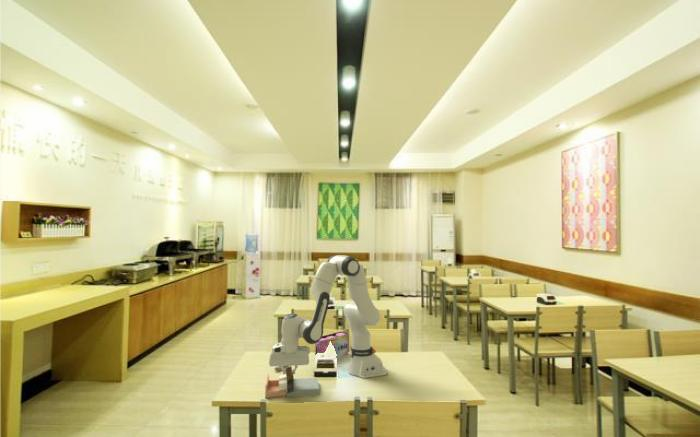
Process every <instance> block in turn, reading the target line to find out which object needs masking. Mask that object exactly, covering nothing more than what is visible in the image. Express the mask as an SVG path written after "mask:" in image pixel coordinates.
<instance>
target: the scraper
mask: <svg viewBox="0 0 700 437" xmlns="http://www.w3.org/2000/svg"><path fill="white" fill-rule="evenodd" d="M292 369H293V366H285V368H284V370H286V377H287V389H286V392H287V391H288V393H291V392H294V379H295V378H294V374H292Z"/></svg>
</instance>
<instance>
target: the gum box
mask: <svg viewBox="0 0 700 437" xmlns="http://www.w3.org/2000/svg"><path fill="white" fill-rule="evenodd" d="M330 341H331V343H332V345H333V346H334V348H335V351H336V354H337V356H336V358H335V359H337V358H340V357H344V356H347V355H349V333H347V332H345V331H337V332H332V333H329V334H326V335H323V336H322V338H321V340H320V341H319V342H317V343H315V344H314V356H315V355H316V354H317V353H324V352H325V351H326V349H327V347H328V345H329V342H330Z"/></svg>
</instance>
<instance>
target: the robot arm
mask: <svg viewBox="0 0 700 437" xmlns="http://www.w3.org/2000/svg"><path fill="white" fill-rule="evenodd" d="M339 275H340V276H346V279H347V287H348V295H349V297H350V298H351V300H352V302H348V303H347V304H345V305H344V308H343V315H344V316H343V317H345V319H346V320H347V322H348V325H349V329H350V332H351V334H350V335H351V346H350V362H349V367H348V373H349V375H352V376H355V377H359V378H361V379H368V378H374V377H380V376H381V377H382V376H386V375H388V371H387V368H386V367H385V366H384V364H383V361H382V359H381V357H379V356H378V355H376V349H375V348H374V347H372V346H371V333H370V331H369V330H368V328H367V326H368V327H374V326H376V325H378V324H379V322H380V321H381V312H380V311H379V309H378V308H377V307H376V305H375V304H374V303H373V300H372V299H371V297H370V293H369V287H368V281H367V276H366V272H365V269H364V266H363V264H361V263H360V262H359V261H358V260H357V259H356V258H355V257H353V256H349V255H346V254H345V255H343V254H342V255H341V254H333V255H331V256H330V257H329V258H328V260H327V261H323V262H322V263H320V266H319V267H318V268H317V270H316V273H315V275H314V278H313V280H312V282H311V287H310V288H311V289H310V290H311V294H312V295H313V297H314V299H315V308H314V312H313V315H312V318H311V319H309V318H308V317H307V318H306V317H302V316H300V315H298V314H297V313H287V314H286V315H284V316H283V317H282V320H281V321H282V322H281V329H280V330H281V332H280V333H281V339H280V342H277V343H275V344H273V345H272V347H271V352H270V355H269V360H268V365H269V367H278V366H281V370H282V375H284V374H286V370H285V367H289V366H291V367H293V366H294V369H293V368H292V374H293V375H296V370H297V368H298V366H307V365H309V364H310V356H309V354H310V353H311V349H310V347H309V346H307V345H299V339H301V338H302V339H304V341H305V342H306V343H307V344H309V345H315V343H317V342H319V341H320V340H321V338H322V336H324V325H325V320H326V316H327V312H328V310H329V305H330V301H331V300H330V299H331V292H332V289H333V286H334V283H335V280H336V278H337V276H339ZM284 366H285V367H284Z"/></svg>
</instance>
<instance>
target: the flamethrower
mask: <svg viewBox="0 0 700 437" xmlns="http://www.w3.org/2000/svg"><path fill="white" fill-rule="evenodd" d="M284 368H286V366H284ZM281 370H282V369H281V366H275V368H274V371H277V372H279V371H281Z"/></svg>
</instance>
